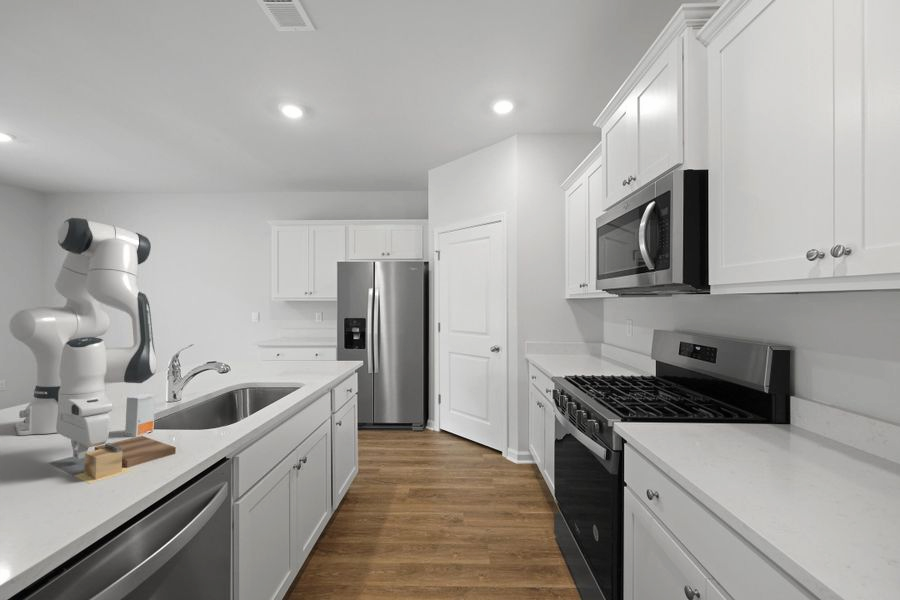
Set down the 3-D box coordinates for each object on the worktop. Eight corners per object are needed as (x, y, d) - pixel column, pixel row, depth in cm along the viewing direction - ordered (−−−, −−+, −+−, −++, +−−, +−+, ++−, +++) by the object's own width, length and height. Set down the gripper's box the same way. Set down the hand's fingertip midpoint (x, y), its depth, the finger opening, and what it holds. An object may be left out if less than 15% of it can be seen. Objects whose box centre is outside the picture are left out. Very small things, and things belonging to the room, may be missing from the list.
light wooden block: (84, 474, 94) (85, 448, 95) (109, 466, 99) (110, 442, 99) (95, 479, 92) (96, 453, 92) (121, 471, 96) (122, 446, 96)
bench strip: (48, 463, 101) (48, 462, 101) (88, 453, 108) (88, 452, 108) (89, 484, 90) (89, 483, 90) (131, 472, 97) (131, 470, 97)
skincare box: (136, 437, 121) (137, 398, 121) (124, 436, 122) (125, 397, 122) (154, 431, 127) (155, 394, 127) (143, 430, 128) (144, 393, 128)
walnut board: (94, 454, 107) (94, 447, 107) (141, 442, 117) (141, 435, 117) (127, 468, 99) (127, 460, 99) (175, 454, 108) (175, 447, 108)
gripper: (49, 399, 103) (46, 452, 103) (83, 411, 93) (81, 470, 93) (80, 394, 109) (78, 445, 109) (116, 405, 99) (113, 461, 99)
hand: (79, 456), depth 101 cm, fingers closed
